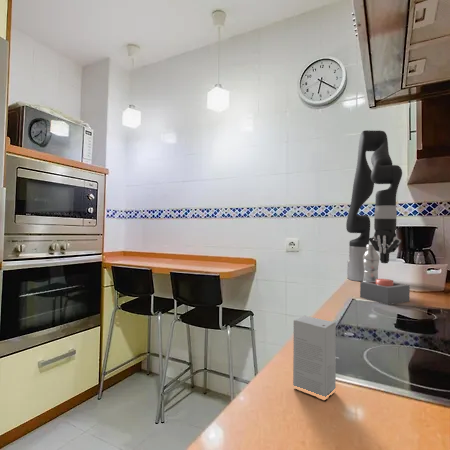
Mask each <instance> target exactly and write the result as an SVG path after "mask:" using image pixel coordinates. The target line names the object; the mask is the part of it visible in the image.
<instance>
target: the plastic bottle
mask: <svg viewBox="0 0 450 450" xmlns="http://www.w3.org/2000/svg"><path fill="white" fill-rule="evenodd" d="M366 249H367V251H366V252H365V254H364V255H363V263H364V278H363V281H362V282H366V281H376V279H379V276H378V274H379V265H380V254H379V253H378V251H376V250H375V249H374V247H373V245H372V244H369V245H367V248H366Z"/></svg>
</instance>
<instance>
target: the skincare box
mask: <svg viewBox="0 0 450 450" xmlns="http://www.w3.org/2000/svg"><path fill="white" fill-rule="evenodd" d="M336 326H337V324H336V321H331V320H326V319H321V318H316V317H314V316H313V317H312V316H307V315H303V316H301V317H299V318H296V319H294V320H293V357H292V358H293V364H292V365H293V368H292V371H293V374H292V375H293V376H292V378H293V380H292V386H293V385H294V386H297V387H300V388H303V389H306V390H308V391H311V392H314V393H316V394H319V395H322V396H325V397H326V396H327V395H329V394H330V393H331V392H332V391H333V390H334V389H335V388H336V386H337V385H336V381H337V380H336V376H337V375H336V367H337V366H336V359H337V358H336V357H337V356H336V355H337V353H336V352H337V350H336V347H337V346H336V344H337V340H336V339H337V337H336V333H337V332H336V328H337V327H336Z"/></svg>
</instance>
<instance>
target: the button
mask: <svg viewBox="0 0 450 450" xmlns="http://www.w3.org/2000/svg"><path fill="white" fill-rule="evenodd" d="M393 282H394V280H393V279H388V278H378V279H376V284H378V285H382V286H393Z"/></svg>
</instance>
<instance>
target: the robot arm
mask: <svg viewBox="0 0 450 450" xmlns="http://www.w3.org/2000/svg"><path fill="white" fill-rule="evenodd" d="M388 141H389V140H388V135H387V133H386V131H384V130H363V131H362V132H361V133H360V135H359V140H358V142H359V143H358V149H357V150H358V151H357V159H356V161H357V163H356V168H355V174H354V177H353V185H352V194H351V199H350V200H351V202H350V206H349V210H348V214H347V219H346V223H345V224H346V225H345V227H346V231H347V233H349V234H360V235H359V236H358V237H356V238H355V239H350V240H349V242H348V244H349V245H348V246H349V248H348V249H349V251H348V259H349V260H347V276H346V277H347V279H348V280H350V281H356V282H363V278H364V263H363V255H364V254H365V252H366V251H367V249H366V248H367V245H373V247H374V249H375V250H376V252H377V253H378V252H379V257H380V259H379V262H380V263H382V264H388V263H389V262H390V254H392V253H394V252H396V250H397V249H398V248H399V246H400V245H401V244H402V243H403V240H402V239H399V237H397V234H396V231H397V217H398V216H397V214H398V213H397V194H398V193H397V192H398V188H399V185H400V183H401V180H402V176H403V169H402V168H401V166H400V165H395V164H393V161H392V159H391V156H390V153H389V142H388ZM367 152H373V153H372V155H371V156H370V157H371V158H370V159H371V165H372V169H371V167H370V166H369V163H368V161H367ZM375 184H376V185H389V187H388V188H387V189H382V190H378V191H376V193H375V205H374V206H375V207H374V215H373V217H374V220H373V221H374V224H373V225H374V226H373V227H374V234H373V236H372V237H370V235H371V219H370V217H369V216H368V215H361V214H358V213H359V211H360V209H361V207H362V206H363V205H364V204H365V203H366V201H368V199H370V197H371V196H372V194H373V193H374V187H375ZM370 243H371V244H370Z"/></svg>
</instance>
